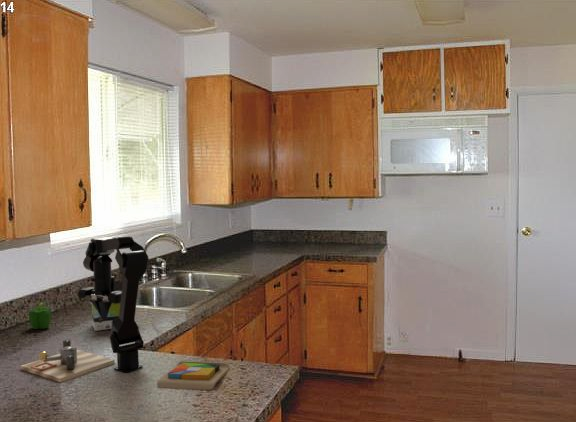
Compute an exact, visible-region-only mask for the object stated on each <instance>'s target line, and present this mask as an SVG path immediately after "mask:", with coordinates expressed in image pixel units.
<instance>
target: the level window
mask: <svg viewBox="0 0 576 422" xmlns="http://www.w3.org/2000/svg"><path fill="white" fill-rule="evenodd" d="M44 364H49V365H52V366H49V367H46V365H44ZM41 365H43V366H42V367H46V368H43V369H40V368H37V367H38V366H41ZM55 366H57V365H56V364H53V363H49V362H44V363H41V364H38V365H35V366H31V368H33V369H36V370H39V371H43V370H46V369H49V368H52V367H55Z"/></svg>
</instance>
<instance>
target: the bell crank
mask: <svg viewBox="0 0 576 422" xmlns="http://www.w3.org/2000/svg"><path fill="white" fill-rule="evenodd" d="M77 350H78V349H77V347H74V346H72V343H71V340H70V339H64V340H63V341H62V349H60V350H59V354H60V356H55V357H51V356H49V353H48V352H46V351H41V352H39V353H38V360H42V361H44V362H48V361H55V360H61V364H66V367H67V370H68V371H71V370H74V369H75V362H77Z"/></svg>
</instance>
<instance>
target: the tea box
mask: <svg viewBox="0 0 576 422" xmlns="http://www.w3.org/2000/svg"><path fill="white" fill-rule="evenodd" d="M115 292H117V291H115ZM112 293H114V292H112ZM119 311H120V303H112V304H111V307H110V309H109V312H108V315H107V318H106V320H102V318H101V317H100V315H99V313H98V311H97V310H96V308H95V306H94V305H93V303H92V302H91V316H92V317H91V322H92V323H91V325H92V327H93V330H94V332H96V331H102V330H103V331H105V330H111V328H112V321H113V319H118V317H119Z"/></svg>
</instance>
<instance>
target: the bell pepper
mask: <svg viewBox="0 0 576 422" xmlns="http://www.w3.org/2000/svg"><path fill="white" fill-rule="evenodd" d="M28 311H29V312H28V318H29V323H30V326H31V327H32V329H34V330H41V329H42V330H44V329H47V328H49V327H50V325H51V320H52V310H51V308H49V307H47V306H44V302H42V301H41V302H40V303H39V305H38V306H37V307H36V308H32V309H31V308H30V309H29V310H28Z"/></svg>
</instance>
